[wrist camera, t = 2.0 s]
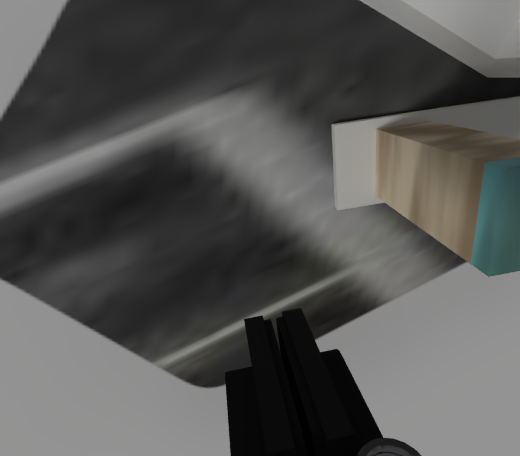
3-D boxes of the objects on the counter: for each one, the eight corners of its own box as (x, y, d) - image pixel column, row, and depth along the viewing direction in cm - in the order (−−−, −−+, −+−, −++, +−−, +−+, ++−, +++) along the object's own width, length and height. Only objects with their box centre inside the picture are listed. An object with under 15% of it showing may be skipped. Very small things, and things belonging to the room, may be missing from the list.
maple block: (429, 120, 25) (598, 154, 14) (424, 187, 27) (569, 261, 16) (375, 128, 25) (506, 169, 14) (375, 195, 27) (488, 276, 16)
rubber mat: (577, 87, 26) (585, 87, 26) (558, 170, 29) (565, 172, 28) (331, 123, 25) (334, 124, 24) (335, 207, 28) (337, 210, 27)
